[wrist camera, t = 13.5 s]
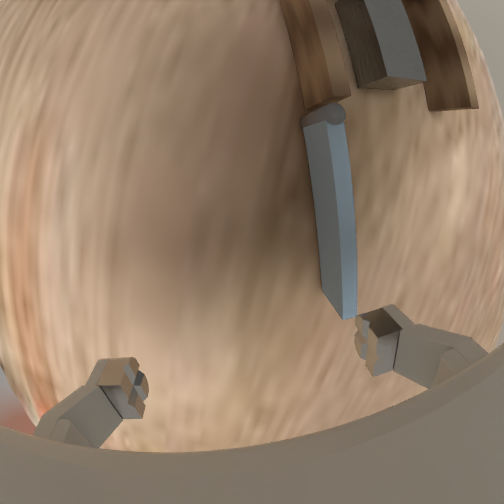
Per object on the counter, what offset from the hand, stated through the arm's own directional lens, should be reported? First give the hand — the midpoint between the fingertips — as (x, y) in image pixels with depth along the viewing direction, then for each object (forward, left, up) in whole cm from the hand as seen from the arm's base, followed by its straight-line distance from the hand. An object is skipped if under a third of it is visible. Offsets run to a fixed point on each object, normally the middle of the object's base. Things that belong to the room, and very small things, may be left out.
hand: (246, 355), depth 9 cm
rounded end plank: (-1, +7, -14) cm, 16 cm away
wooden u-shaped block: (-15, +15, -14) cm, 25 cm away
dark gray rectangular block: (-16, +15, -14) cm, 26 cm away
